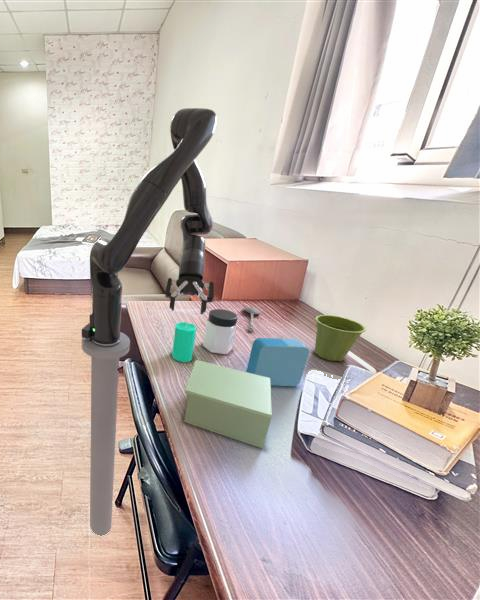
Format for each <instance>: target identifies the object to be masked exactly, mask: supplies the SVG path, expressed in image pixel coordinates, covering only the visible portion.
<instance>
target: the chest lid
mask: <svg viewBox="0 0 480 600" xmlns="http://www.w3.org/2000/svg"><path fill="white" fill-rule="evenodd" d="M184 394H187V395H188V394H190V395H194V396H197V397H201V398H204V399H207V400H211V401H214V402H217V403H221V404H224V405H227V406H231V407H234V408H237V409H241V410H244V411H248V412H251V413H254V414H258V415H261V416H264V417H268V418H271V419H272V417H273V408H272V407H273V406H272V386H271V384H270V378H268V377H264V376H260V375H256V374H252V373H248V372H246V371H243V370H240V369H236V368H231V367H227V366H223V365H219V364H216V363H211V362H207V361H203V360H198V359H195V361H194V363H193V366H192V369H191V373H190V375H189V378H188V381H187V383H186V386H185V389H184Z"/></svg>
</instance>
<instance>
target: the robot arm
mask: <svg viewBox="0 0 480 600" xmlns="http://www.w3.org/2000/svg"><path fill="white" fill-rule="evenodd" d="M169 126H170V128H169V132H170V133H169V134H170V140H171V144H172V148H173V151H172V152H171V154H169V155H168V156H167V157H165V158H164V159H163V160H161V161H160V162H159V163H157V164H155V166H153V167H152V168H151V169H150V170H148V171H147V172H146V173H145V174H144V175H143V177H142V178H141V179H140V181H139V182H138V183H137V186H136V187H135V188H134V190H133V192H132V194H131V195H130V197H129V200H128V203H127V207H126V210H125V215H124V218H123V221H122V222H121V225H120V227H119V228H118V229H117V231H116V233H115V234H114V235H113V237H112V238H111V239H109V238H101V239H98V240H96V242H94V243H93V244H92V247H91V248H90V252H89V279H90V283H91V290H92V291H91V293H92V294H91V295H92V296H91V297H92V298H91V300H92V301H91V305H92V306H91V313H90V314H89V322H88V323H87V324H86V325H85V326H84V327H82V328H81V338H82V337H83V338H86V339H89V338H90V340H89V341H91V342H93V343H94V344H95V345H97V346H100V347H113V346H116V345H118V344H119V343H120V332H121V325H122V324H121V323H122V299H123V284H122V282H121V279H120V276H119V273H121V271H123V270H124V268H125V267H127V265H128V263H129V261H130V259H131V257H132V256H133V254H134V252H135V251H136V249H137V246H138V244H139V242H140V240H141V239H142V238H143V236H144V234H145V233H146V232H147V230H148V228H149V227H150V225H151V224H152V222H153V220H154V219H155V217H156V216H157V215H158V213H159V211H160V210H162V208H163V206H164V204H165V203H166V202H167V200H168V199H169V197H170V195H171V194H172V192H173V190H174V189H175V188H176V186H177V184H178V183H180V180H181V189H182V200H183V201H182V202H183V208H184V211H186V212H188V213H191V214H185V215H183V217H182V218H181V219H180V222H179V229H180V232H181V233H180V234H181V237H182V249H181V250H182V251H181V256H180V261H179V269H178V276H177V279H176V280H175V279H172V278H171V277H168V278H167V283H166V287H165V291H164V297H165V298H168V299H169V300H170V301H169V309H170V310H171V311H172V312H174V311H175V303H176V299H177V298H178V297H179V296H181V295H182V294H183V295H185V296H187V295H189V296H196V297H197V298H198V299H199V300H200V301H201V303H200V315H204V313H206V312H207V304H208V303H213V301H214V297H215V284H214V281H210V282H204V275H205V274H204V273H205V262H206V260H205V258H206V257H205V252H206V251H205V249H206V240H205V238H204V237H203V236H204V235H208V234H210V232H212V229H213V228H214V227H213V226H214V222H213V217H212V215H211V213H210V211H209V208H208V203H207V202H208V201H207V183H206V179H205V177H204V174H203V172H202V170H201V168H200V166H199V164H198V163H197V160H196V159H197V158H198V157H199V155H200V154H201V153H202V152H203V151H204V149H205V148H206V146H207V145H208V144H209V142H210V141H211V140H212V138H213V136H214V134H215V132H216V129H217V127H218V115H217V113H216V112H215V111H214V110H213V109H210V108H206V107H205V108H204V107H202V108H201V107H199V108H198V107H187V108H181V109H179V110H177V112H176V113H174V114H173V117H172V119H171V122H170V125H169ZM201 235H202V236H201ZM175 285H176V287H177V288H176V289H175V290H174V291H173V292H171V289H172V288H173V287H174V286H175ZM204 288H205V289H206V291H208V295H207V296H206V295H205V293H204V291H203V290H202V289H204Z"/></svg>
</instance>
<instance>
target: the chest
mask: <svg viewBox="0 0 480 600" xmlns="http://www.w3.org/2000/svg"><path fill="white" fill-rule="evenodd" d="M184 414H185V415H184V420H183V422H184V423H186V424H189V425H192V426H195V427H197V428H200V429H204V430H207V431H209V432H212V433H214V434H215V433H216V434H219V435H221V436H224V437H227V438H231V439H233V440H236V441H239V442H242V443H245V444H248V445H251V446H254V447H256V448H259V449H263V448H264V445H265V441H266V438H267V435H268V430H269V427H270V425H271V419H272V417H271V418H268V417H264V416H261V415H258V414H254V413H251V412H248V411H244V410H241V409H237V408H234V407H231V406H227V405H224V404H221V403H217V402H214V401H211V400H207V399H204V398H201V397H197V396H194V395H190V394H187V401H186V408H185V413H184Z"/></svg>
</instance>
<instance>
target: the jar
mask: <svg viewBox="0 0 480 600" xmlns="http://www.w3.org/2000/svg"><path fill="white" fill-rule="evenodd" d="M238 318H239V317H238V315H237V314H236V313H235V312H234V311H231V310H227V309H222V308H216V309H215V308H214V309H211V310H210V311H209V312H208V319H206V322H205V329H204V335H203V342H202V347H204V348H205V349H206V350H208V351H209V352H210V353H212V354H218V355H219V354H220V355H228V354H229V353H230V352H231V350H233V348H234V341H235V337H236V333H237V328H238Z"/></svg>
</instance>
